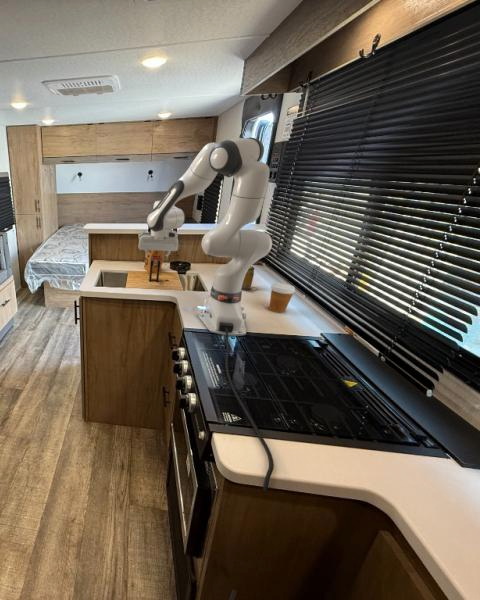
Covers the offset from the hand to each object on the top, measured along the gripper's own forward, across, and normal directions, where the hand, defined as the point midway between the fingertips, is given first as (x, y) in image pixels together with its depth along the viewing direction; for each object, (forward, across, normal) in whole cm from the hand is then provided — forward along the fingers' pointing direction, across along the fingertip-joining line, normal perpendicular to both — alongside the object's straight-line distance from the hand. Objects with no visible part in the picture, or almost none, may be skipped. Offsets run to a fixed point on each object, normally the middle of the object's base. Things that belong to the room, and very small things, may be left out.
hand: (156, 258), depth 162 cm
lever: (+4, 0, +4) cm, 6 cm away
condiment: (+18, +50, +9) cm, 54 cm away
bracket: (+17, 0, +9) cm, 20 cm away
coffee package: (+18, 0, +29) cm, 34 cm away
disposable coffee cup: (+17, +56, -18) cm, 61 cm away
